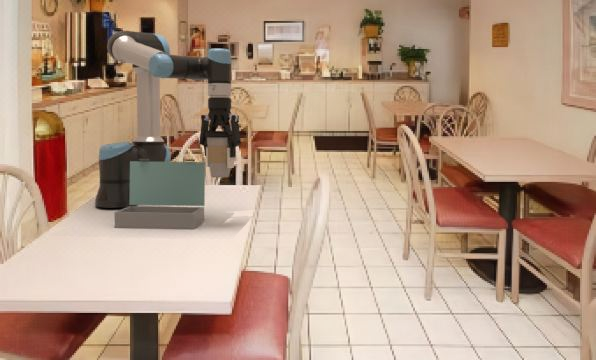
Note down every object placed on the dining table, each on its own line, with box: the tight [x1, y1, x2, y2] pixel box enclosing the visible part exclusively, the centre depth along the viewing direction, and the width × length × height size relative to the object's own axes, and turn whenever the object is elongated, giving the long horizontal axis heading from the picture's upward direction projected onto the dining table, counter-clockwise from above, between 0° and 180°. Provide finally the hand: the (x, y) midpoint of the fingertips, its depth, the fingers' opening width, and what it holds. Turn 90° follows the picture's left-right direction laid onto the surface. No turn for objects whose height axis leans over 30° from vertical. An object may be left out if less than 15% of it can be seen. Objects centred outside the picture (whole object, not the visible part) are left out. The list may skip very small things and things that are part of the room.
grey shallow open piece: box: [114, 205, 205, 230], centre depth 207 cm, size 15×26×5 cm, turn 86°
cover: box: [130, 158, 206, 207], centre depth 213 cm, size 16×26×2 cm
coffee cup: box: [205, 130, 233, 179], centre depth 203 cm, size 9×9×15 cm
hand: (219, 167), depth 204 cm, fingers closed on coffee cup, 8 cm apart
